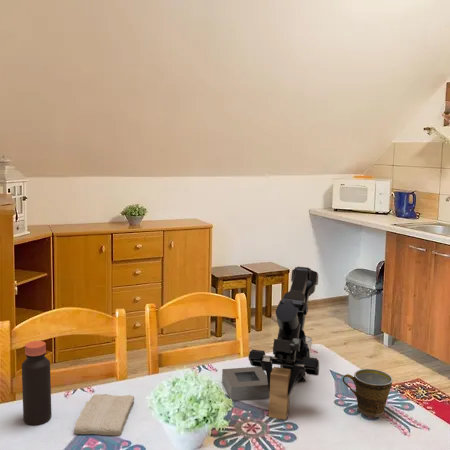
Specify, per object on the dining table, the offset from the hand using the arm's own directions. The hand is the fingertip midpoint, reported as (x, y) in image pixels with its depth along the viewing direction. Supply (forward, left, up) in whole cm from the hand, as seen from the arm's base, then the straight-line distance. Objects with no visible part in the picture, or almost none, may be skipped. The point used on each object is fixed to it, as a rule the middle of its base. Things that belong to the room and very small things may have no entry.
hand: (278, 393), depth 136 cm
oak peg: (-1, -1, -7) cm, 7 cm away
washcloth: (+44, -7, -7) cm, 45 cm away
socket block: (+4, -16, -7) cm, 18 cm away
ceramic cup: (-25, +1, -7) cm, 26 cm away
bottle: (+61, -9, -7) cm, 62 cm away
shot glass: (-20, -35, -7) cm, 41 cm away
